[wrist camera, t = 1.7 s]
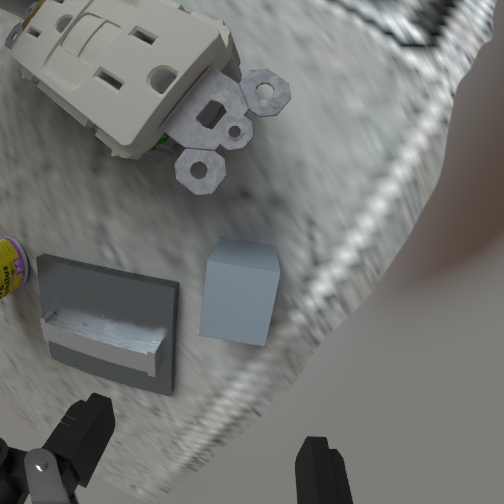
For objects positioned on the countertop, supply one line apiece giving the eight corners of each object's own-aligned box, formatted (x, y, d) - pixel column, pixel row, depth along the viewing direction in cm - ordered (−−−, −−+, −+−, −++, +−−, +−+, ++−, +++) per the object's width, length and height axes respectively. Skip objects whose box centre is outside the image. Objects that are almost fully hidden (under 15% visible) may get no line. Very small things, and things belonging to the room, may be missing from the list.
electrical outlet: (217, 210, 26) (180, 227, 16) (42, 72, 23) (-15, 54, 14) (303, 106, 23) (317, 62, 13) (100, -6, 21) (56, -42, 11)
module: (220, 237, 27) (207, 260, 20) (275, 246, 27) (280, 272, 20) (213, 298, 28) (199, 336, 22) (264, 307, 28) (264, 347, 22)
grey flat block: (44, 253, 28) (25, 262, 24) (178, 282, 28) (168, 296, 25) (57, 352, 32) (44, 366, 28) (174, 388, 32) (166, 407, 28)
